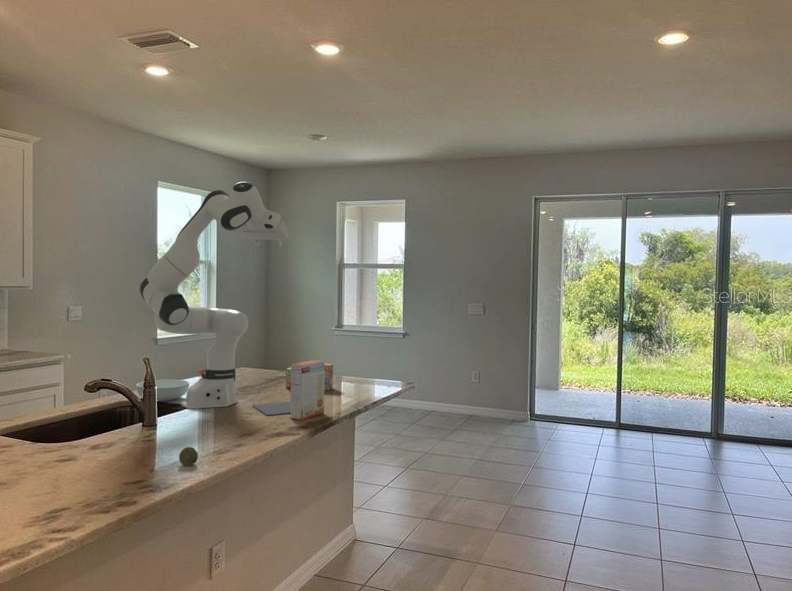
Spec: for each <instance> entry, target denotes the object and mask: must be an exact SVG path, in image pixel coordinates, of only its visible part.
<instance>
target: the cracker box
mask: <svg viewBox="0 0 792 591" xmlns="http://www.w3.org/2000/svg"><path fill="white" fill-rule="evenodd" d="M325 363H326V361H325V360H318V359H312V360H307V361H306V360H305V361H301V362H296V363H291V364H290V367H291V388H290V402H291V414H289V415H290V416H289V417H290V419H292V418H293V420H298V421H303V420H306V419H310V418H312V417H315V416H316V417H317V416H319V415H322V414H324V413H325V390H324V375H325Z"/></svg>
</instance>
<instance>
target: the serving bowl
mask: <svg viewBox="0 0 792 591" xmlns="http://www.w3.org/2000/svg"><path fill="white" fill-rule="evenodd" d="M155 380H156V385H157V400H158V402H160V403H161V402H162V403H163V402H170V401H174V400H176V399H178V398H181V397H183V396H184V395H185V394H187V392H188V389H189V388H190V382H189V381H187V380H184V379H155ZM144 382H145V381H141V382H138V383H136V384H135V389H136V392H137V394H138V395H139V397H141V398H142V393H143V383H144Z"/></svg>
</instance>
